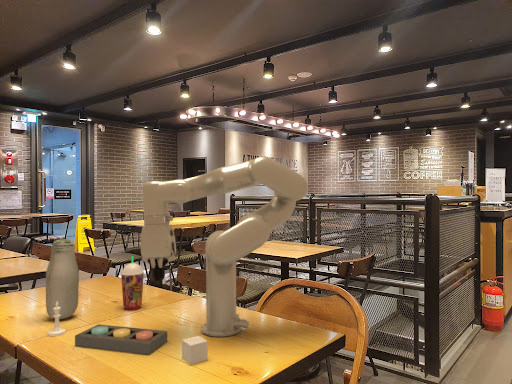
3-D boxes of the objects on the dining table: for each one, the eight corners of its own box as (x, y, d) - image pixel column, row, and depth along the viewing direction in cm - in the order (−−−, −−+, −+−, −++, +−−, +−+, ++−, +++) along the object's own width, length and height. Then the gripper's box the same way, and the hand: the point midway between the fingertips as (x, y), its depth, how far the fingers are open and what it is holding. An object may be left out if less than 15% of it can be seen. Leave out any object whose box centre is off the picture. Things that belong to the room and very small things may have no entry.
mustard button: (133, 337, 111) (133, 329, 111) (123, 343, 107) (123, 334, 107) (119, 336, 113) (119, 327, 113) (109, 342, 108) (109, 333, 108)
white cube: (198, 354, 102) (198, 335, 103) (207, 360, 98) (207, 341, 99) (181, 358, 100) (181, 339, 100) (190, 365, 96) (190, 345, 96)
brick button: (155, 340, 109) (155, 331, 109) (147, 346, 105) (147, 336, 105) (141, 338, 111) (141, 329, 111) (132, 344, 106) (132, 335, 106)
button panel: (167, 341, 111) (167, 331, 111) (148, 355, 102) (148, 343, 102) (98, 333, 118) (98, 324, 118) (74, 346, 108) (74, 335, 108)
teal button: (111, 335, 113) (111, 326, 113) (101, 341, 109) (101, 332, 109) (98, 334, 115) (98, 325, 115) (87, 339, 110) (87, 330, 110)
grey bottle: (62, 324, 127) (62, 241, 128) (39, 321, 131) (39, 240, 131) (84, 315, 137) (84, 238, 137) (62, 312, 140) (62, 237, 141)
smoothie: (136, 311, 141) (136, 258, 141) (116, 310, 142) (116, 257, 143) (147, 305, 149) (147, 254, 149) (128, 304, 150) (128, 254, 151)
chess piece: (46, 337, 115) (46, 304, 116) (50, 331, 120) (50, 300, 120) (63, 335, 117) (63, 303, 117) (67, 330, 122) (67, 299, 122)
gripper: (183, 219, 119) (186, 277, 119) (140, 220, 122) (143, 277, 122) (173, 221, 112) (176, 283, 112) (128, 222, 115) (131, 283, 115)
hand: (159, 280), depth 117 cm, fingers closed
